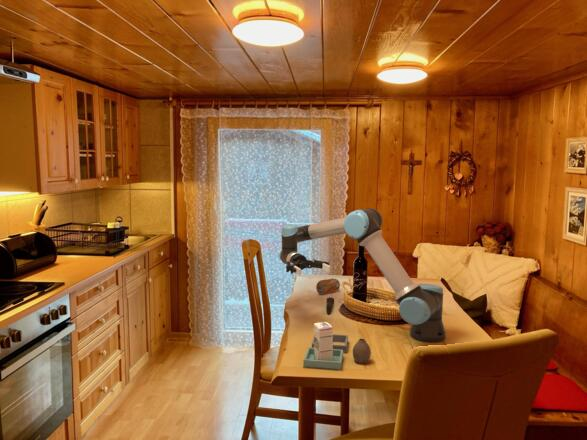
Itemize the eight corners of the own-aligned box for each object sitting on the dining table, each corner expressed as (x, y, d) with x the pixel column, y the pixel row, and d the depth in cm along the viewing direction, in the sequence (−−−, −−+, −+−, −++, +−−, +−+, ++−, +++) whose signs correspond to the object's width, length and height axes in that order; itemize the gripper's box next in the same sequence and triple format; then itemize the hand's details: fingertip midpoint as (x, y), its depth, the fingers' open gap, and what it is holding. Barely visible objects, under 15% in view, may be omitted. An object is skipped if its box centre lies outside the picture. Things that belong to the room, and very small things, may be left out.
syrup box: (333, 362, 183) (333, 326, 181) (318, 364, 181) (319, 327, 179) (327, 356, 188) (327, 321, 186) (313, 358, 186) (313, 322, 184)
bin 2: (343, 357, 189) (343, 349, 189) (340, 370, 177) (340, 362, 177) (307, 354, 192) (307, 347, 191) (303, 367, 180) (303, 359, 179)
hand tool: (326, 304, 258) (326, 295, 258) (334, 304, 258) (334, 295, 257) (322, 315, 240) (322, 306, 239) (330, 316, 239) (330, 307, 238)
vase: (354, 356, 190) (354, 335, 188) (371, 358, 188) (372, 337, 187) (351, 363, 183) (351, 341, 182) (369, 366, 181) (369, 343, 180)
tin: (318, 295, 273) (318, 281, 272) (315, 294, 275) (315, 280, 274) (340, 292, 280) (340, 278, 279) (337, 290, 283) (337, 276, 282)
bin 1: (348, 342, 205) (348, 335, 204) (346, 353, 193) (346, 346, 192) (315, 339, 207) (315, 333, 207) (311, 350, 195) (311, 343, 195)
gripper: (321, 266, 228) (341, 276, 209) (271, 271, 220) (287, 282, 200) (321, 251, 227) (341, 259, 208) (271, 255, 219) (287, 264, 199)
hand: (315, 270), depth 204 cm, fingers open, 13 cm apart
